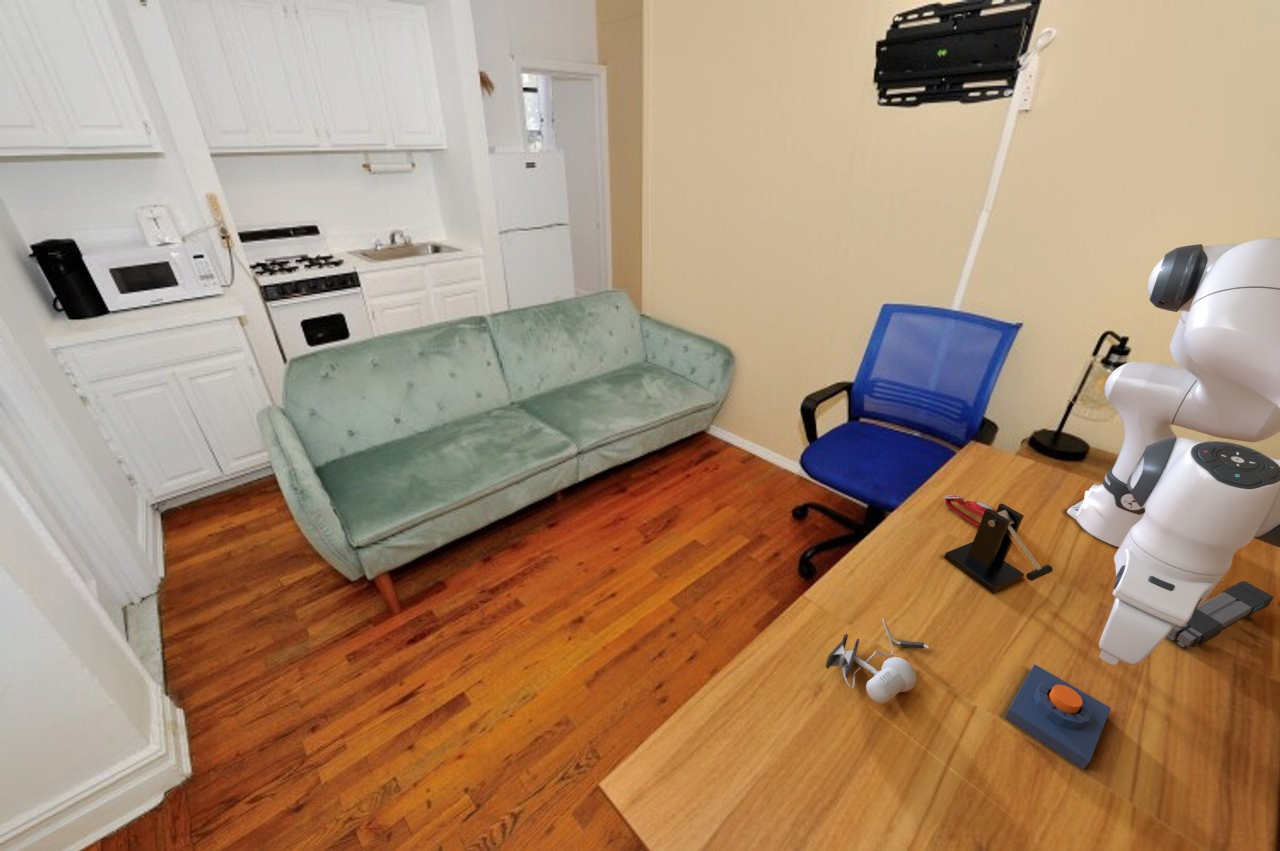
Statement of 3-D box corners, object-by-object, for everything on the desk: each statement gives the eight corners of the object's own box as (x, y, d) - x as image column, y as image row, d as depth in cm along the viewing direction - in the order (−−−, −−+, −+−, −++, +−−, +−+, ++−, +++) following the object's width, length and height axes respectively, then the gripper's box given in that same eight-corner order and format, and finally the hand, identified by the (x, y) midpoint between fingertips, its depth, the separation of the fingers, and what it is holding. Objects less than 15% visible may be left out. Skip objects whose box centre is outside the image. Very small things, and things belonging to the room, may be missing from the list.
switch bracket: (1022, 579, 103) (1048, 522, 96) (992, 593, 100) (1017, 535, 93) (972, 546, 112) (993, 492, 105) (943, 557, 109) (963, 502, 102)
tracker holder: (993, 503, 124) (1015, 520, 115) (985, 518, 125) (1006, 536, 116) (944, 487, 125) (961, 503, 116) (936, 503, 127) (953, 520, 117)
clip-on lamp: (871, 634, 96) (817, 670, 85) (879, 605, 94) (824, 639, 83) (936, 674, 87) (884, 720, 76) (945, 643, 85) (894, 686, 74)
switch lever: (1045, 573, 97) (1056, 570, 95) (1027, 582, 95) (1038, 579, 93) (1001, 511, 103) (1011, 507, 101) (983, 519, 101) (992, 514, 99)
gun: (1263, 619, 93) (1282, 587, 88) (1179, 673, 91) (1193, 643, 86) (1231, 601, 97) (1247, 569, 91) (1150, 653, 95) (1162, 623, 89)
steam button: (1052, 687, 79) (1056, 680, 78) (1081, 703, 76) (1085, 696, 76) (1045, 701, 77) (1049, 694, 76) (1074, 719, 74) (1079, 711, 74)
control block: (1029, 672, 85) (1038, 656, 83) (1105, 716, 78) (1115, 700, 76) (1004, 717, 78) (1012, 701, 76) (1083, 770, 72) (1095, 754, 70)
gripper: (1148, 515, 70) (1105, 585, 77) (1114, 593, 59) (1067, 667, 66) (1211, 538, 66) (1160, 610, 73) (1188, 627, 55) (1130, 702, 62)
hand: (1115, 638), depth 69 cm, fingers open, 8 cm apart
